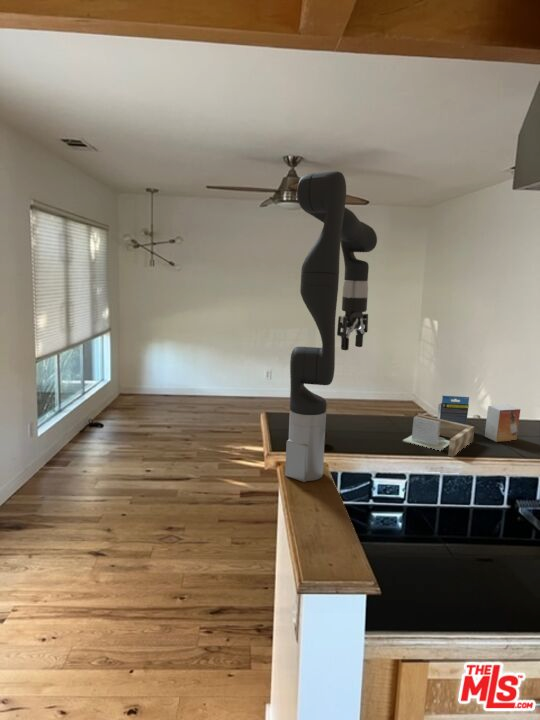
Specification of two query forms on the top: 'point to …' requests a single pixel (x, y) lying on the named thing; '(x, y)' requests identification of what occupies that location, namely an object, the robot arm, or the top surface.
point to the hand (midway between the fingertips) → (351, 348)
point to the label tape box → (453, 409)
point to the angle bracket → (426, 431)
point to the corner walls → (454, 434)
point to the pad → (440, 447)
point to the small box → (502, 423)
